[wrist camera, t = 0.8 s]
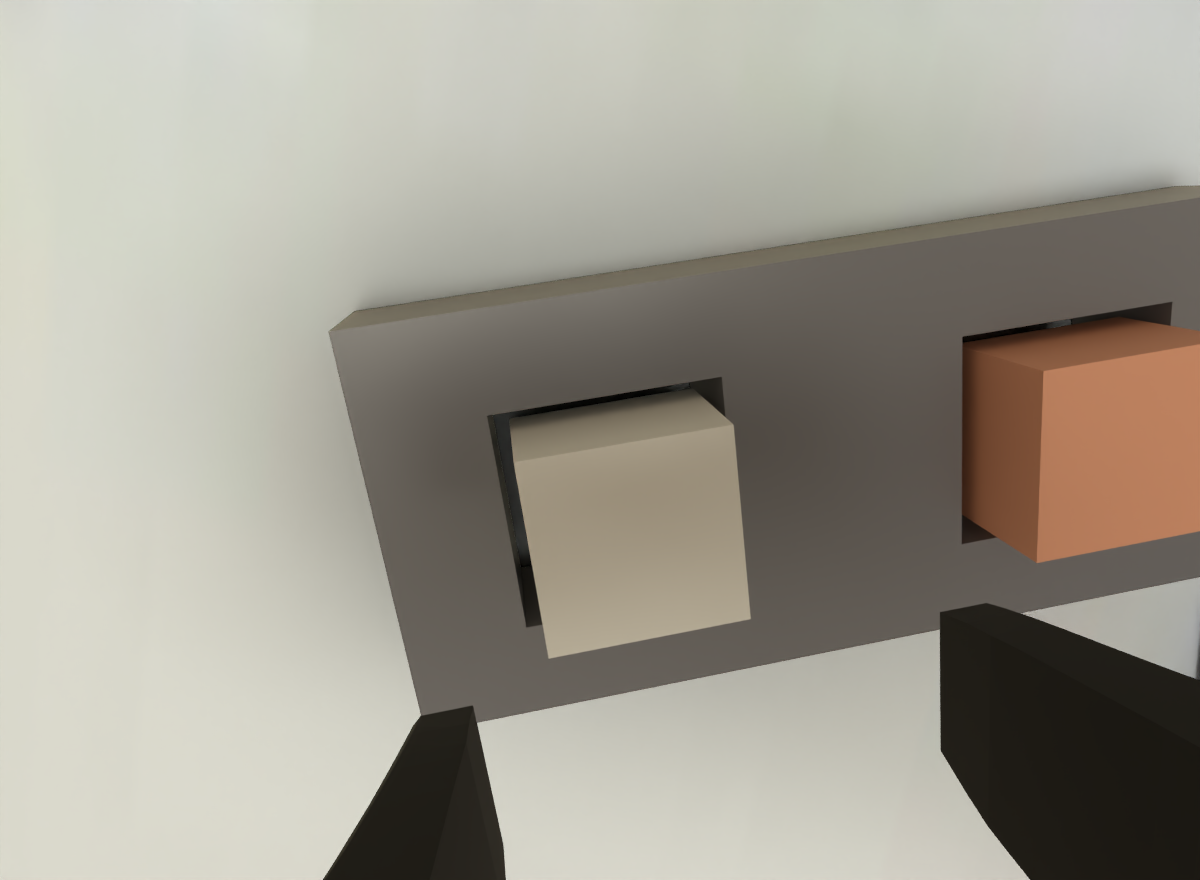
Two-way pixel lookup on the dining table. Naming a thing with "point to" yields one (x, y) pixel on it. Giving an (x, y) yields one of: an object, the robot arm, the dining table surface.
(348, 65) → the dining table surface
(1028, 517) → the terracotta key
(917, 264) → the key block
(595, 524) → the beige key
